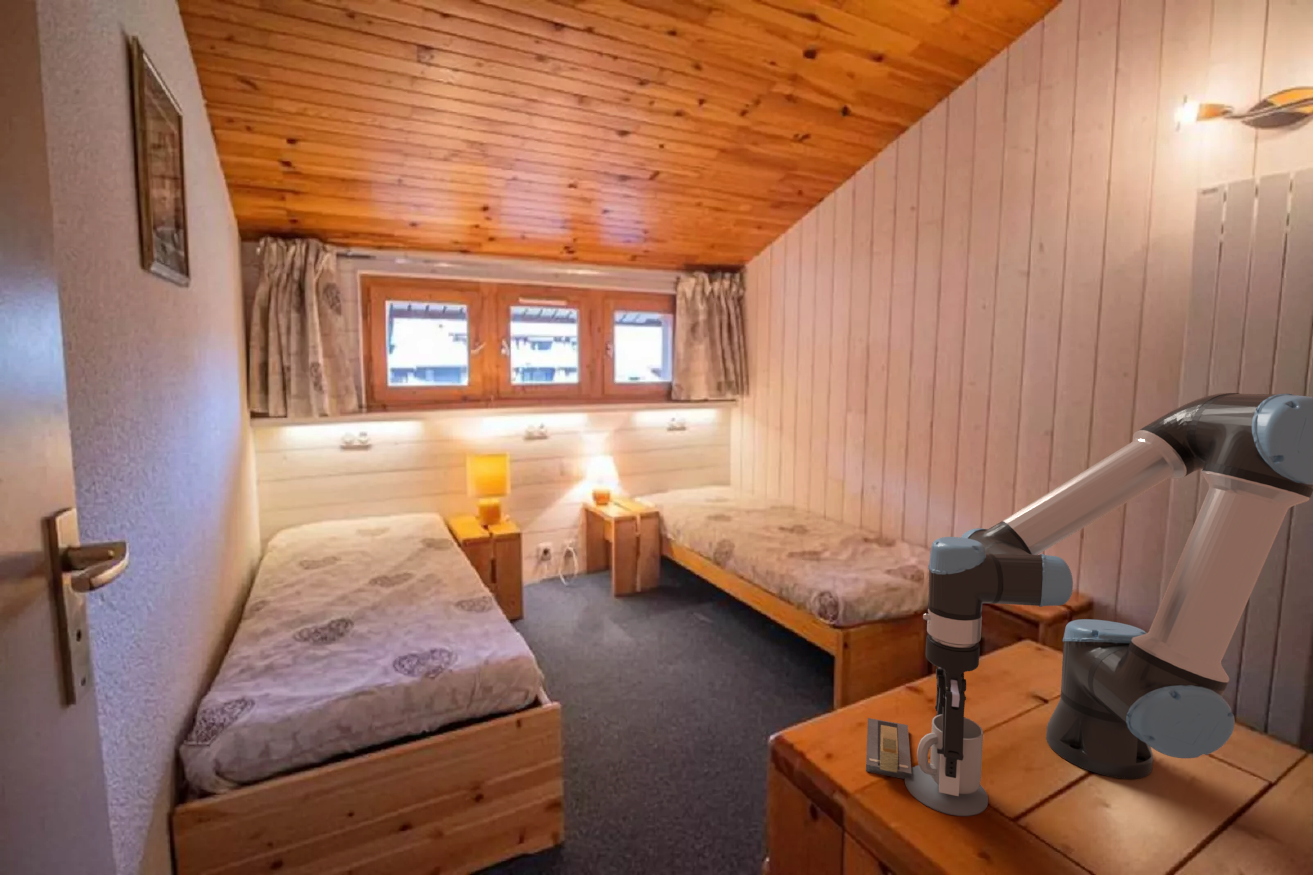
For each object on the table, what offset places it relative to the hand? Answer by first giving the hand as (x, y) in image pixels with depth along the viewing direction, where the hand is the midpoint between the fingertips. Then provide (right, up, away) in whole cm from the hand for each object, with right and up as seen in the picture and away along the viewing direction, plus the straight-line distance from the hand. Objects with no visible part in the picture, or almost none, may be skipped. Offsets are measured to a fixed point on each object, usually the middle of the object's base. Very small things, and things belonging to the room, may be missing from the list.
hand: (946, 776), depth 97 cm
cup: (0, -1, -1) cm, 1 cm away
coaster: (0, -2, 0) cm, 2 cm away
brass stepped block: (-7, 0, +6) cm, 9 cm away
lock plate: (-5, -1, +11) cm, 12 cm away
